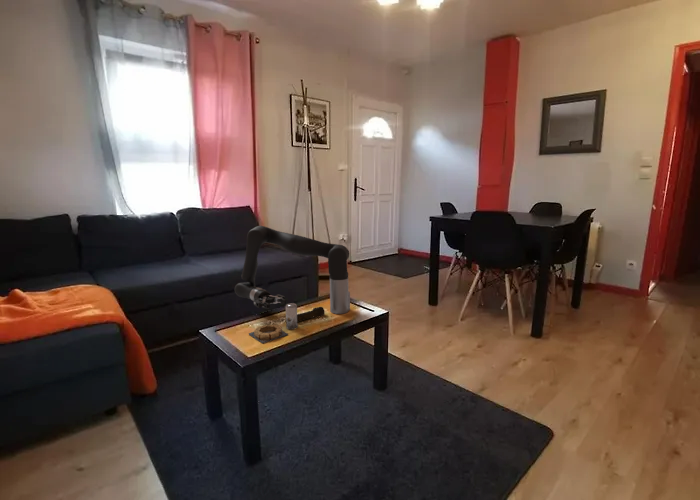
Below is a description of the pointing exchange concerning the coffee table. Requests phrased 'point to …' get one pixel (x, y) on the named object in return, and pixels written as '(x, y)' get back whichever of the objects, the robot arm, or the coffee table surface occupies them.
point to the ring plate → (268, 333)
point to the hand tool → (311, 314)
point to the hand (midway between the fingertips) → (277, 304)
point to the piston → (291, 316)
